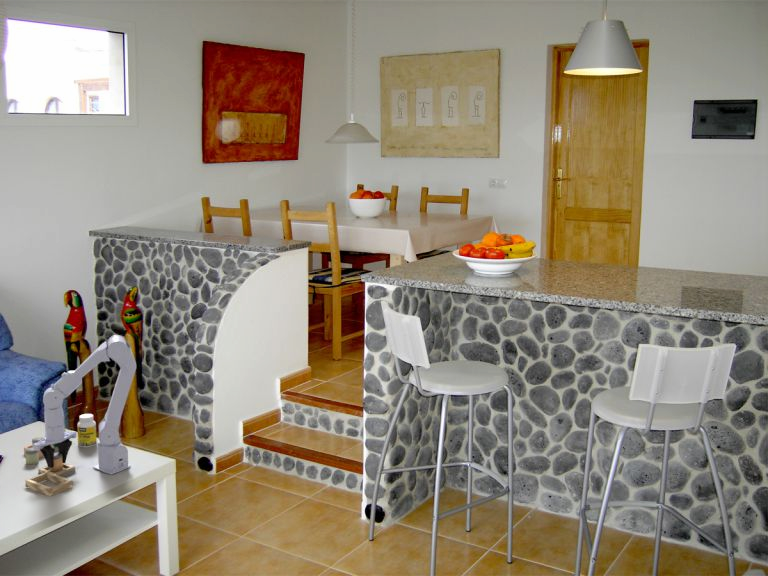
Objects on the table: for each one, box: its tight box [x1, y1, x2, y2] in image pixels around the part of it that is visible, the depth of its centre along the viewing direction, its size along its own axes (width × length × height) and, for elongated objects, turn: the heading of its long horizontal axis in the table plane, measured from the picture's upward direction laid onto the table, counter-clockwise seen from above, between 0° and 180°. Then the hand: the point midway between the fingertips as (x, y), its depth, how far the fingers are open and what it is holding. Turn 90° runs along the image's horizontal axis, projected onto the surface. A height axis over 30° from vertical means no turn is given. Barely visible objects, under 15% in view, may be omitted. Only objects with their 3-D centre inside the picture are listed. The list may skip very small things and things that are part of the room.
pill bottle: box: [77, 413, 97, 448], centre depth 290 cm, size 6×6×11 cm
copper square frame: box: [23, 444, 55, 459], centre depth 281 cm, size 7×7×3 cm
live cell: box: [50, 452, 63, 472], centre depth 266 cm, size 4×4×5 cm
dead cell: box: [31, 436, 45, 448], centre depth 281 cm, size 4×4×5 cm
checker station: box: [24, 462, 76, 497], centre depth 261 cm, size 17×16×2 cm
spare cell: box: [24, 448, 40, 466], centre depth 273 cm, size 4×4×5 cm
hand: (56, 464), depth 267 cm, fingers closed on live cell, 4 cm apart
